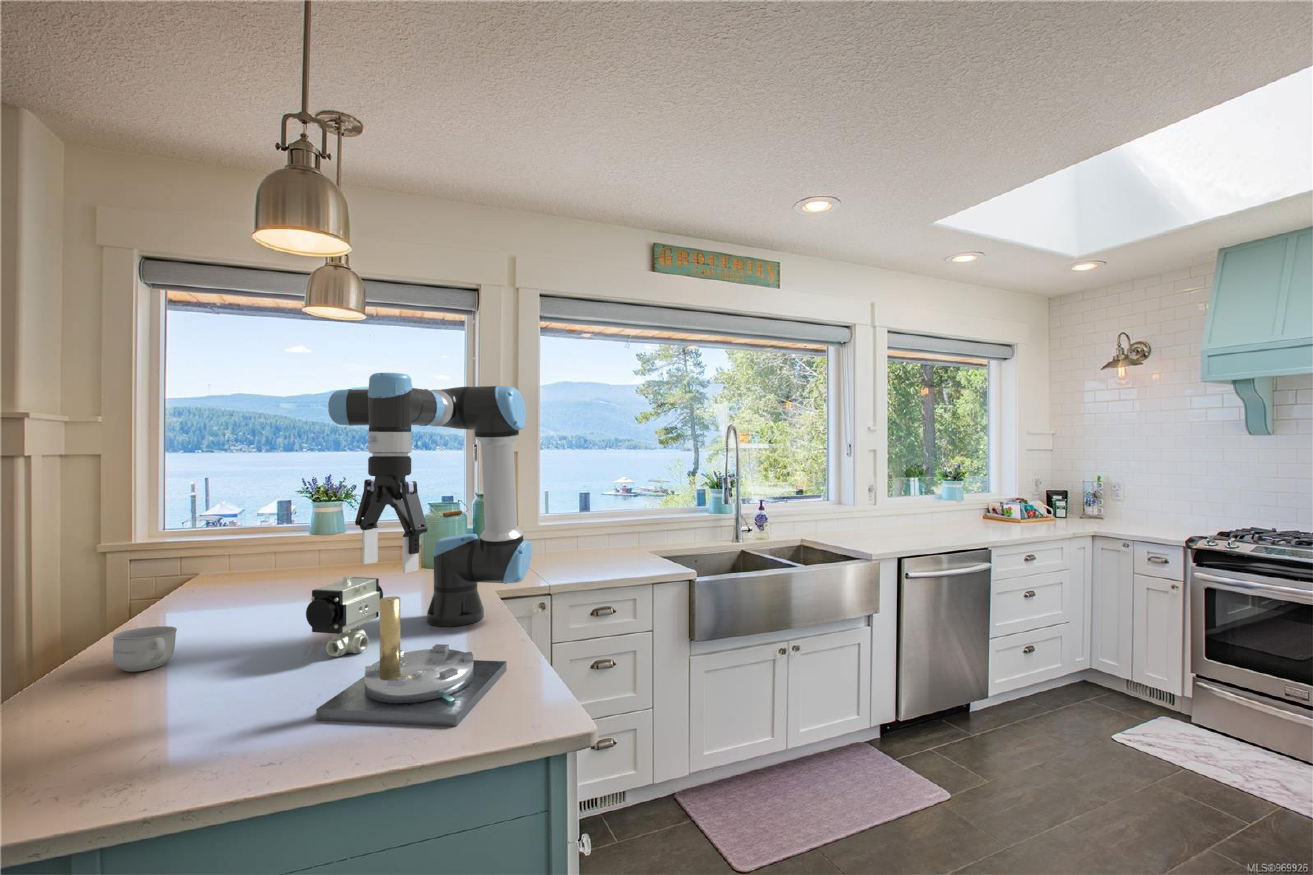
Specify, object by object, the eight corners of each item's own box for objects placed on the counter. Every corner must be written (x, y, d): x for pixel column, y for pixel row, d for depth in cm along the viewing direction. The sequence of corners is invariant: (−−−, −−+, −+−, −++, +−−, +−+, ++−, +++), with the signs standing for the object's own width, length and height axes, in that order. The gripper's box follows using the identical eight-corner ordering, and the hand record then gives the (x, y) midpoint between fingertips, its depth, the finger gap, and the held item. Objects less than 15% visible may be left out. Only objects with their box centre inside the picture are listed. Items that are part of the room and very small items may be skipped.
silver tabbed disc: (398, 661, 133) (398, 579, 133) (488, 664, 131) (488, 581, 131) (342, 700, 113) (342, 604, 113) (447, 705, 111) (447, 606, 111)
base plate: (392, 666, 136) (392, 654, 136) (506, 670, 133) (506, 658, 133) (316, 720, 110) (316, 705, 110) (456, 726, 108) (456, 711, 108)
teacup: (109, 667, 136) (109, 631, 136) (171, 654, 143) (171, 620, 143) (118, 684, 126) (118, 645, 126) (184, 670, 134) (184, 633, 134)
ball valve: (337, 667, 135) (337, 586, 136) (304, 664, 137) (304, 584, 137) (389, 641, 153) (389, 569, 153) (358, 638, 155) (358, 568, 155)
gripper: (336, 454, 121) (335, 562, 120) (410, 456, 106) (410, 579, 106) (372, 453, 127) (372, 556, 127) (447, 455, 112) (447, 571, 112)
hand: (389, 567), depth 116 cm, fingers open, 13 cm apart
